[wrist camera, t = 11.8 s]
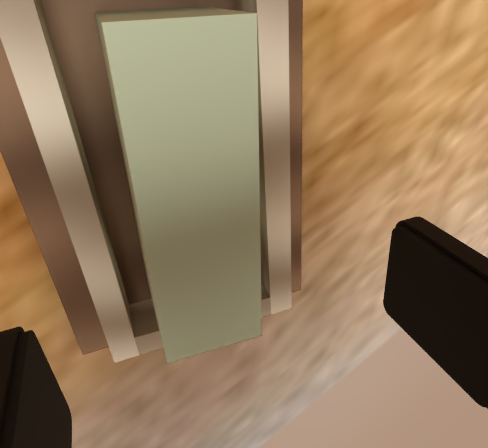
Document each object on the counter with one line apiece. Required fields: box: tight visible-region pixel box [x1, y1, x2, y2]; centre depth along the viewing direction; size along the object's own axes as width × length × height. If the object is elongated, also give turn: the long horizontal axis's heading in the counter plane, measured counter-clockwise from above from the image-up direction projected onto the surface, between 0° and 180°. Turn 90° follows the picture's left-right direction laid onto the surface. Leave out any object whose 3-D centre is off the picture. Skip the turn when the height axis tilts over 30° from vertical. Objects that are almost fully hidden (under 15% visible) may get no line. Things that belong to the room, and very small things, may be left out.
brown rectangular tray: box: [0, 0, 303, 363], centre depth 18 cm, size 20×13×4 cm, turn 4°
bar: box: [95, 6, 262, 363], centre depth 16 cm, size 4×12×6 cm, turn 2°
